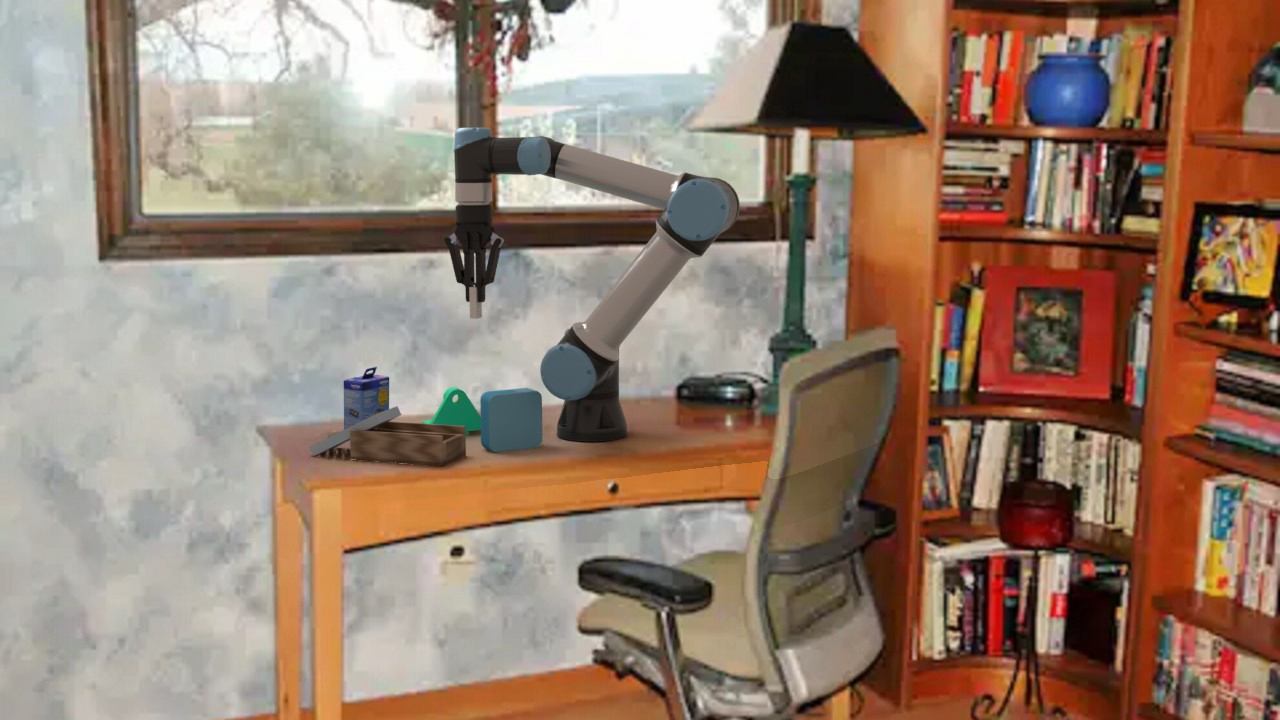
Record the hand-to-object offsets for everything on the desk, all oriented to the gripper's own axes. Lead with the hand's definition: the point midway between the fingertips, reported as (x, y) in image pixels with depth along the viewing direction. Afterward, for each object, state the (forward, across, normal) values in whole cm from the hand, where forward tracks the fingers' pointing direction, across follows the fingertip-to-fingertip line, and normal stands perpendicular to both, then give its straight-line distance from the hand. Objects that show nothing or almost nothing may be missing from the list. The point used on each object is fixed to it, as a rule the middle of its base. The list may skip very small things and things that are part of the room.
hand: (475, 317), depth 318 cm
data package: (+27, -9, +3) cm, 28 cm away
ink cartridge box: (+27, +27, -2) cm, 38 cm away
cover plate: (+23, +18, +18) cm, 34 cm away
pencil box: (+26, +7, +18) cm, 33 cm away
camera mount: (+27, +10, -8) cm, 30 cm away
